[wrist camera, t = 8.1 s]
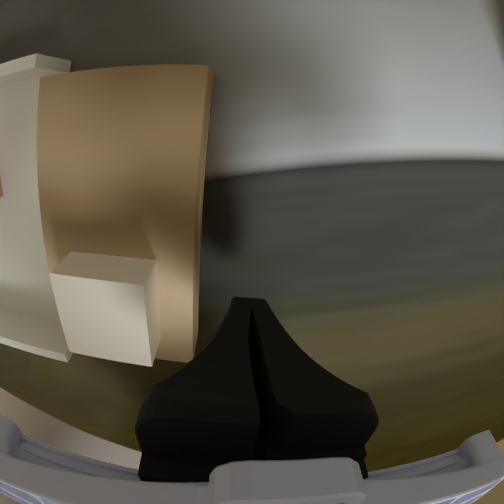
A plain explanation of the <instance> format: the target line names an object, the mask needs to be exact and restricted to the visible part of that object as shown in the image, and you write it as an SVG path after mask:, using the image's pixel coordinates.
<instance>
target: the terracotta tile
mask: <svg viewBox="0 0 504 504" xmlns="http://www.w3.org/2000/svg"><path fill="white" fill-rule="evenodd" d="M2 196H3V192H2V185H1V177H0V197H2Z"/></svg>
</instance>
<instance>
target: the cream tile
mask: <svg viewBox="0 0 504 504" xmlns="http://www.w3.org/2000/svg"><path fill="white" fill-rule="evenodd" d="M49 274H50V279H51V284H52V288H53V293H54V297H55V302H56V306H57V310H58V314H59V317H60V321H61V325H62V328H63V332H64V335H65V339H66V342H67V345H68V349H69V352H73V353H78V354H83V355H87V356H92V357H97V358H102V359H108V360H113V361H119V362H124V363H130V364H137V365H143V366H150V367H152V366H153V362H154V359H155V356H156V352H157V349H158V346H159V342H160V339H161V329H160V315H159V298H158V275H157V260H152V259H142V258H131V257H121V256H111V255H101V254H91V253H82V252H72V251H71V252H70V253H69V254H68V255H67V256H66V257H65V258H64V259H63V260H62V261H61V262H60V263H59V264H58V265H57V266H56V267H55V268H54V269H53V270H52V271H51V272H50V273H49Z"/></svg>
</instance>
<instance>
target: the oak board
mask: <svg viewBox="0 0 504 504" xmlns="http://www.w3.org/2000/svg"><path fill="white" fill-rule="evenodd" d="M213 83H214V73H213V72H212V70H211V68H210V67H209V65H188V64H162V65H134V66H119V67H108V68H98V69H89V70H81V71H74V72H68V73H61V74H56V75H50V76H45V77H40V84H39V96H38V112H37V174H38V191H39V203H40V213H41V222H42V230H43V237H44V244H45V251H46V257H47V262H48V268H49V273H50V272H51V271H52V270H53V269H54V268H55V267H56V266H57V265H58V264H59V263H60V262H61V261H62V260H63V259H64V258H65V257H66V256H67V255H68V254H69V253H70V252H71V251H72V252H82V253H91V254H101V255H111V256H121V257H131V258H142V259H152V260H157V275H158V298H159V315H160V329H161V339H160V342H159V346H158V349H157V352H156V356H155V359H161V360H168V361H177V362H186V363H188V362H189V361H191V360H192V359H193V358H194V354H195V348H196V342H197V336H198V310H199V275H200V250H201V229H202V211H203V195H204V181H205V167H206V155H207V143H208V132H209V121H210V111H211V101H212V92H213Z"/></svg>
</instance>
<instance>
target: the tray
mask: <svg viewBox="0 0 504 504" xmlns="http://www.w3.org/2000/svg"><path fill="white" fill-rule="evenodd" d="M70 67H71V61H69V60H65V59H61V58H56V57H51V56H47V55H42V54H37V53H36V54H32V55H29V56H25V57H21V58H18V59H15V60H11V61H8V62H5V63H2V64H0V177H1V185H2V192H3V196H2V197H0V343H2V344H5V345H8V346H11V347H15V348H18V349H21V350H24V351H28V352H31V353H34V354H38V355H41V356H45V357H49V358H52V359H56V360H60V361H64V362H68V361H69V359H70V358H71V356H72V354H73V352H69V349H68V345H67V342H66V339H65V335H64V332H63V328H62V325H61V321H60V317H59V314H58V310H57V306H56V302H55V297H54V293H53V288H52V284H51V279H50V274H49V268H48V262H47V257H46V251H45V244H44V237H43V230H42V222H41V213H40V203H39V191H38V174H37V112H38V96H39V84H40V77H45V76H50V75H56V74H61V73H68V72H70Z"/></svg>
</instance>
